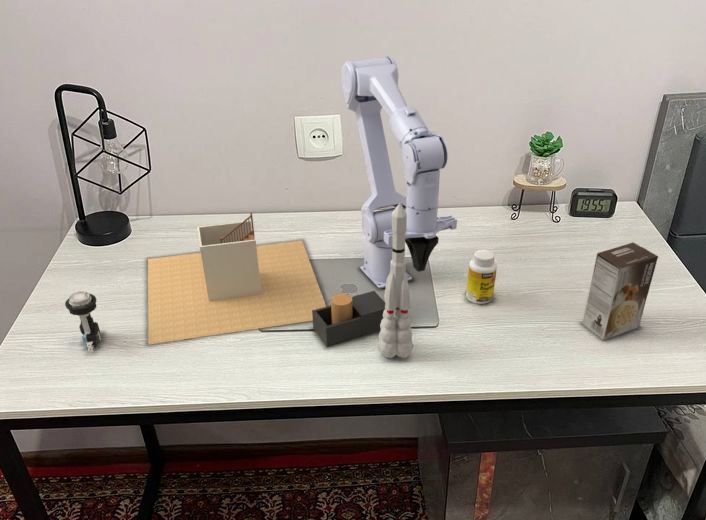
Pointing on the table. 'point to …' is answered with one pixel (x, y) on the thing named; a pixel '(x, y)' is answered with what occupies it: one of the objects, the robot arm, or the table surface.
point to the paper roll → (341, 308)
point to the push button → (85, 316)
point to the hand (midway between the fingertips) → (418, 268)
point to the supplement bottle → (481, 277)
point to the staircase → (230, 286)
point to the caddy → (362, 324)
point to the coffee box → (619, 290)
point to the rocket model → (397, 296)
